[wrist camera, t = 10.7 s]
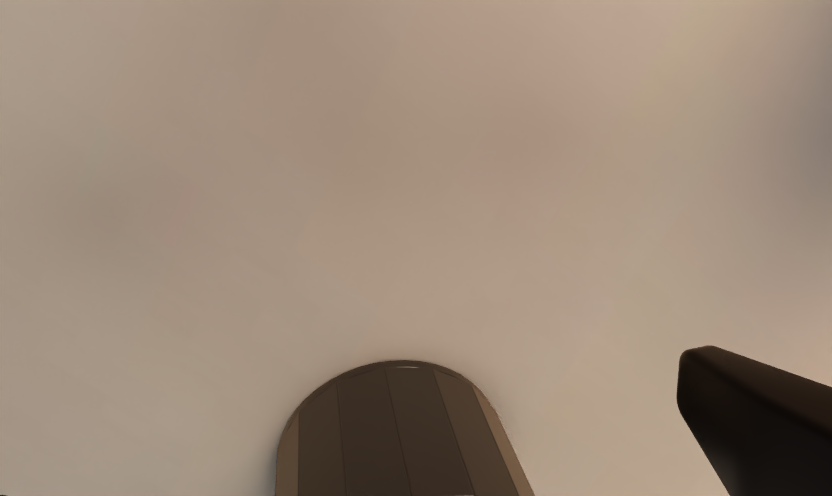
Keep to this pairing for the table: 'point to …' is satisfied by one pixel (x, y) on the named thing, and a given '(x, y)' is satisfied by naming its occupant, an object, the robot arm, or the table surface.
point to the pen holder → (397, 437)
